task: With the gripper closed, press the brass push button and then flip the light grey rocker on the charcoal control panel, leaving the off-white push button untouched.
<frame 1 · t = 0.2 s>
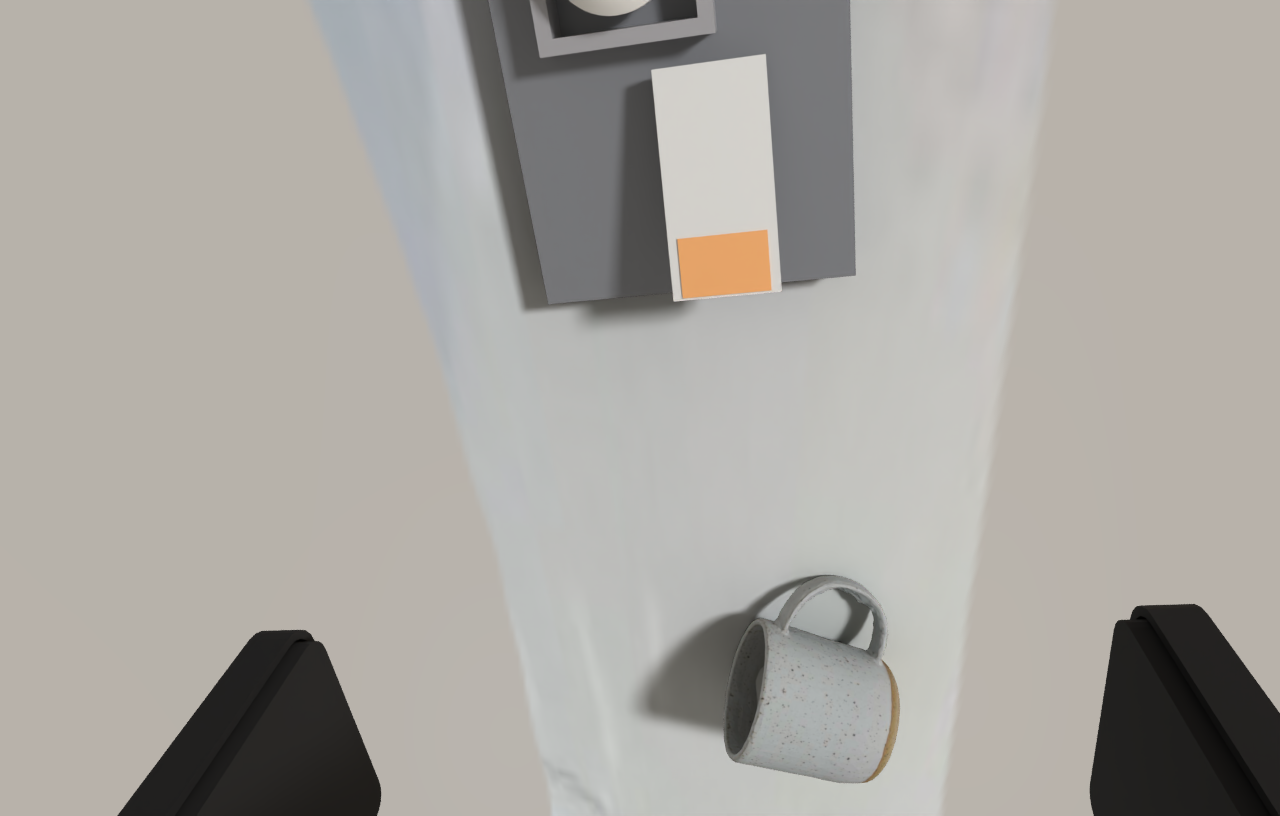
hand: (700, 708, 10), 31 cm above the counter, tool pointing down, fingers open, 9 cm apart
ceramic mug: (807, 635, 49), on the counter
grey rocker: (718, 183, 33), point 4 cm above the counter, hinge at -14.0°
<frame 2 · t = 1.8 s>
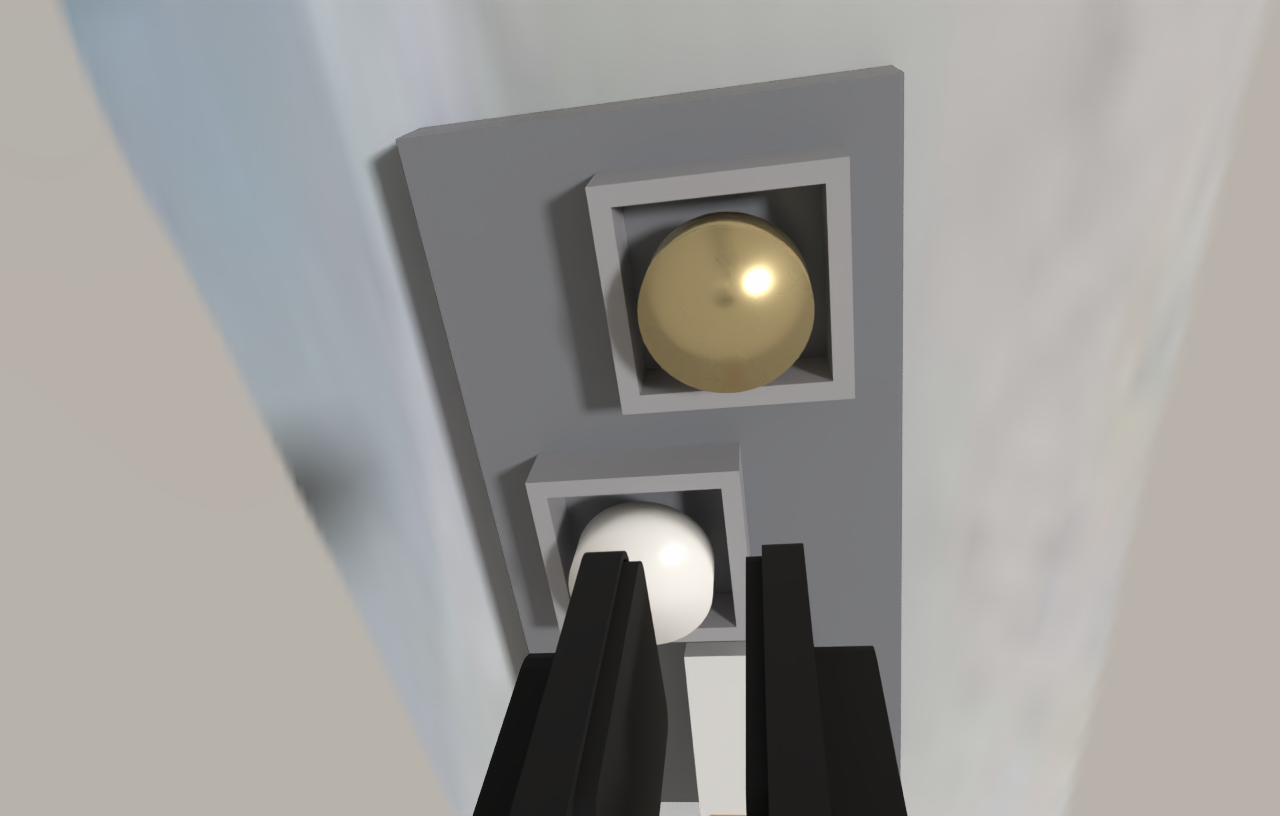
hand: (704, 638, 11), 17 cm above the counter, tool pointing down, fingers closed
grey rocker: (755, 759, 30), point 4 cm above the counter, hinge at -14.0°
control panel: (695, 498, 30), on the counter
white button: (642, 574, 27), point 4 cm above the counter, slide at 0.0 cm
brass button: (725, 303, 22), point 4 cm above the counter, slide at 0.0 cm
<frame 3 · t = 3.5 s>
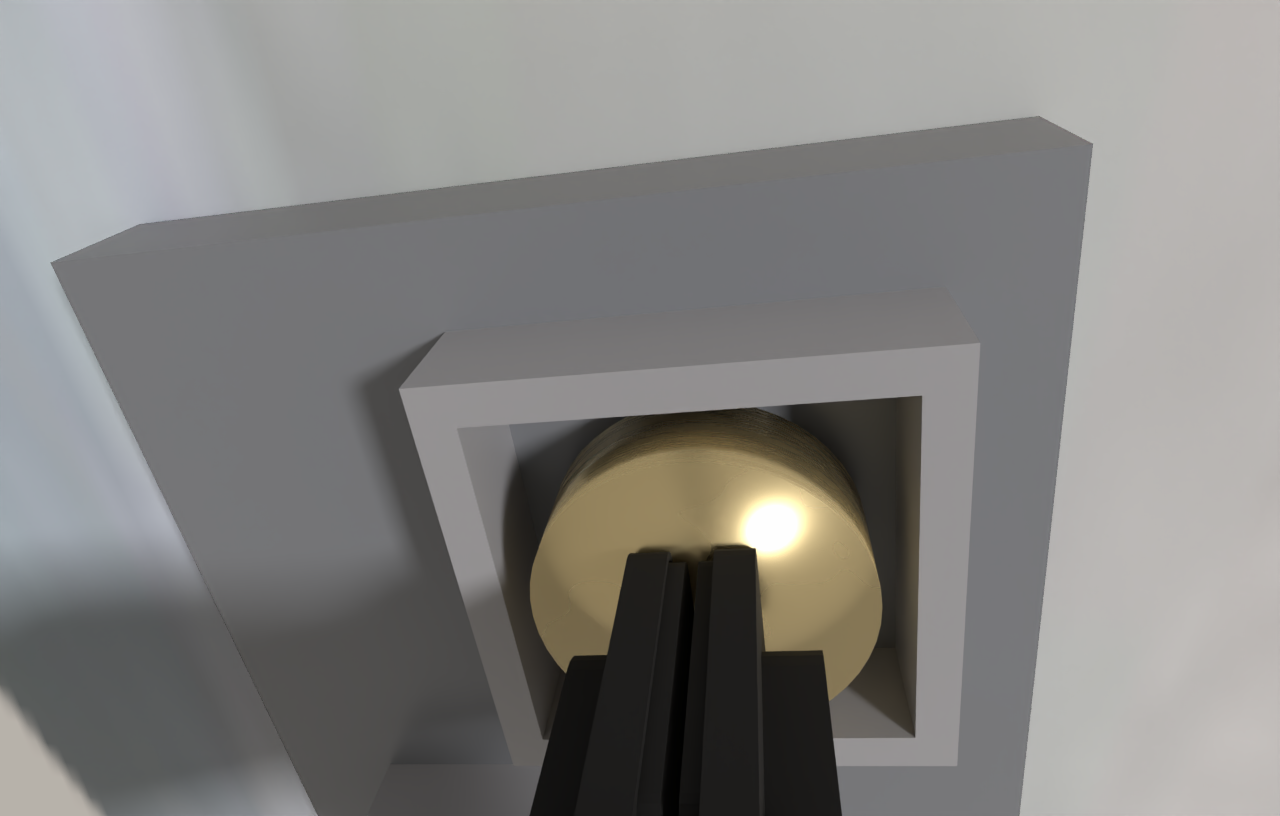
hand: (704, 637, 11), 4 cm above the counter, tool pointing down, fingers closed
control panel: (663, 791, 19), on the counter
brass button: (704, 572, 12), point 3 cm above the counter, slide at 1.0 cm, touching gripper
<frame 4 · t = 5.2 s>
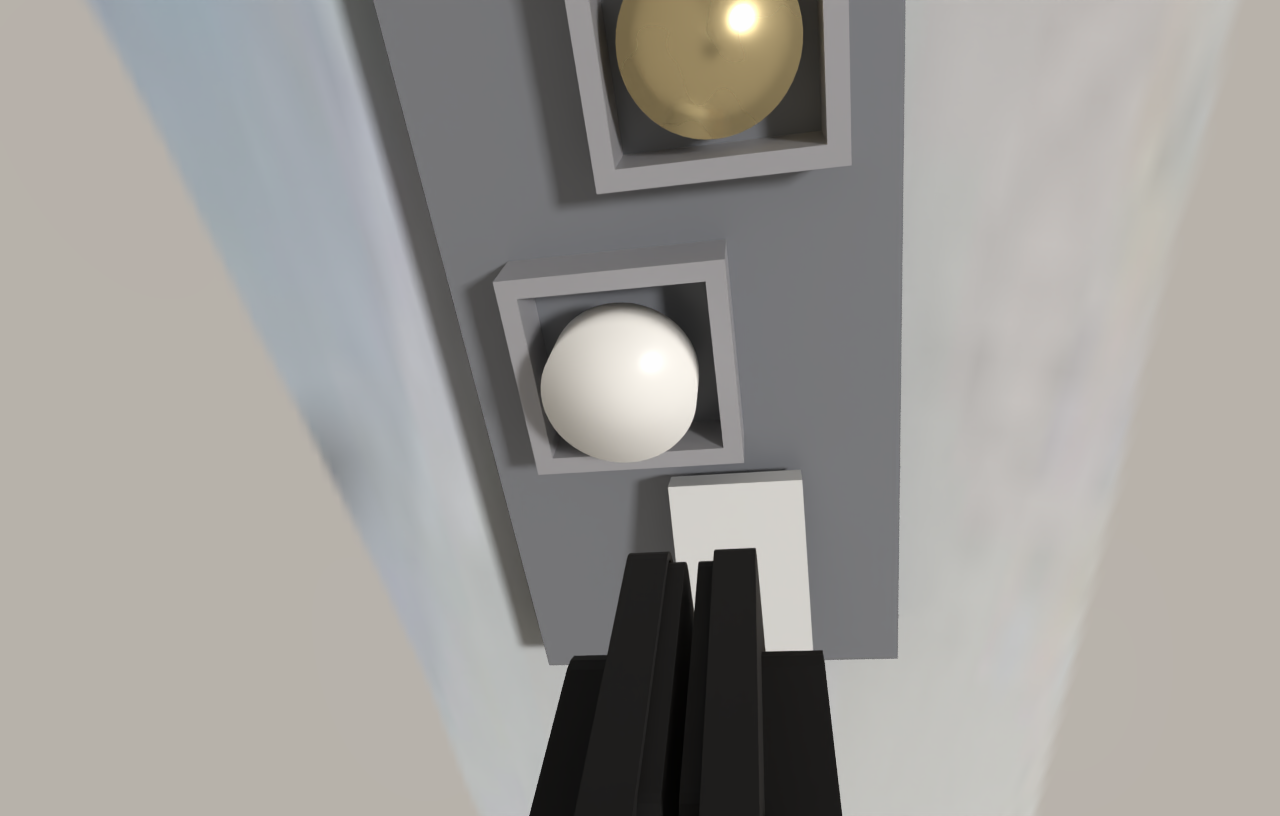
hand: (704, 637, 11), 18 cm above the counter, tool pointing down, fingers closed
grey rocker: (745, 600, 29), point 4 cm above the counter, hinge at -14.0°
control panel: (680, 322, 28), on the counter
white button: (621, 383, 25), point 4 cm above the counter, slide at 0.0 cm
brass button: (709, 39, 21), point 3 cm above the counter, slide at 1.2 cm
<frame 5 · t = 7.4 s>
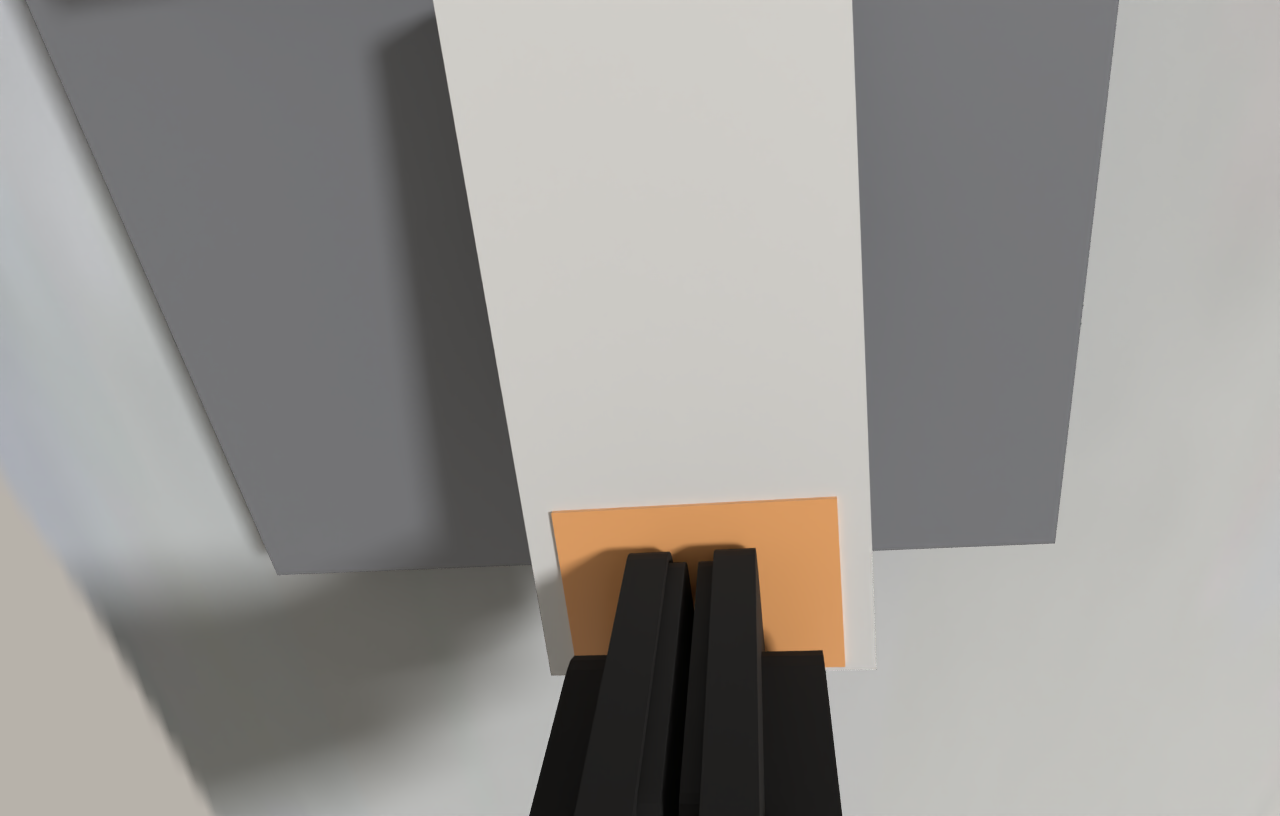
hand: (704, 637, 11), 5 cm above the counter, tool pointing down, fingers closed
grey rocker: (677, 340, 10), point 4 cm above the counter, hinge at -10.3°, touching gripper
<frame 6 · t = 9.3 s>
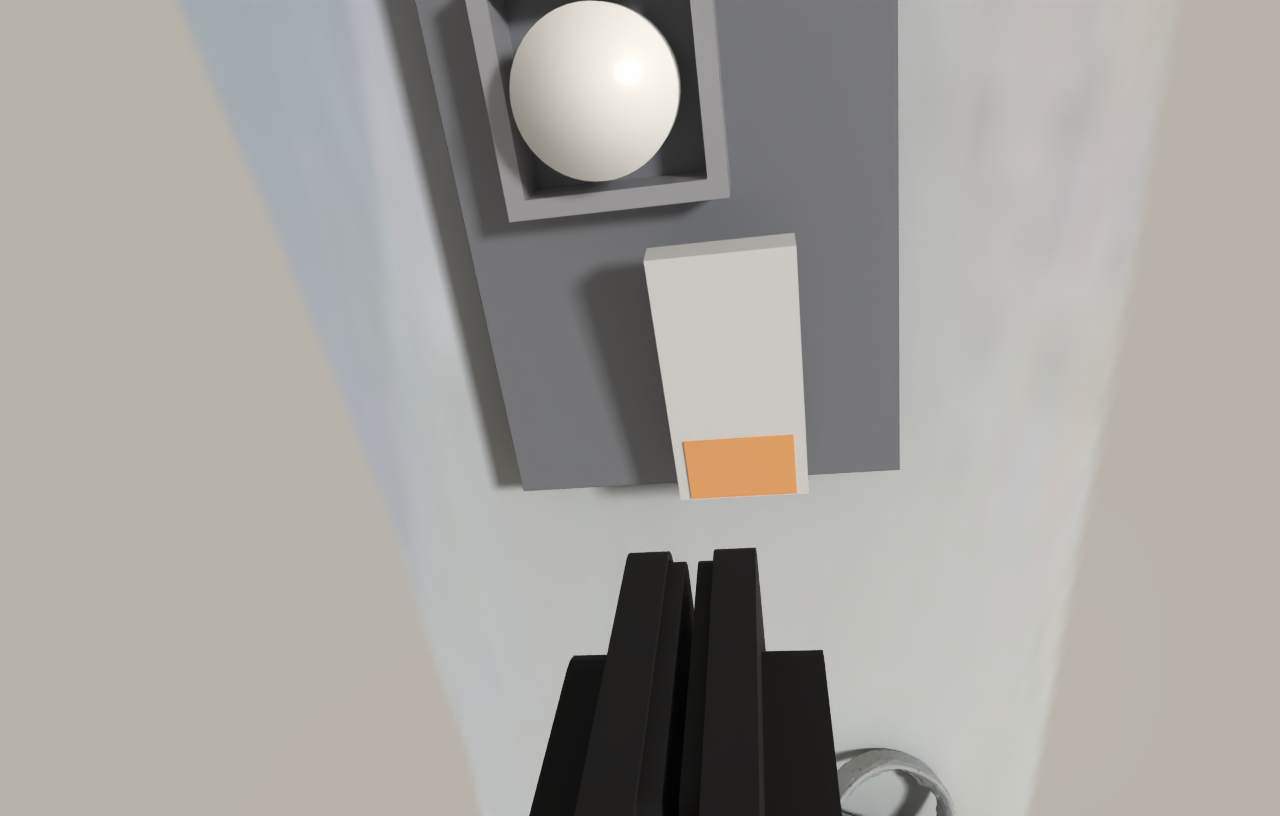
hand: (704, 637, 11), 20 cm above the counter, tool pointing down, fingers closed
ceramic mug: (853, 814, 40), on the counter
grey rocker: (732, 378, 26), point 4 cm above the counter, hinge at 7.8°
control panel: (664, 75, 27), on the counter
white button: (597, 92, 23), point 4 cm above the counter, slide at 0.0 cm
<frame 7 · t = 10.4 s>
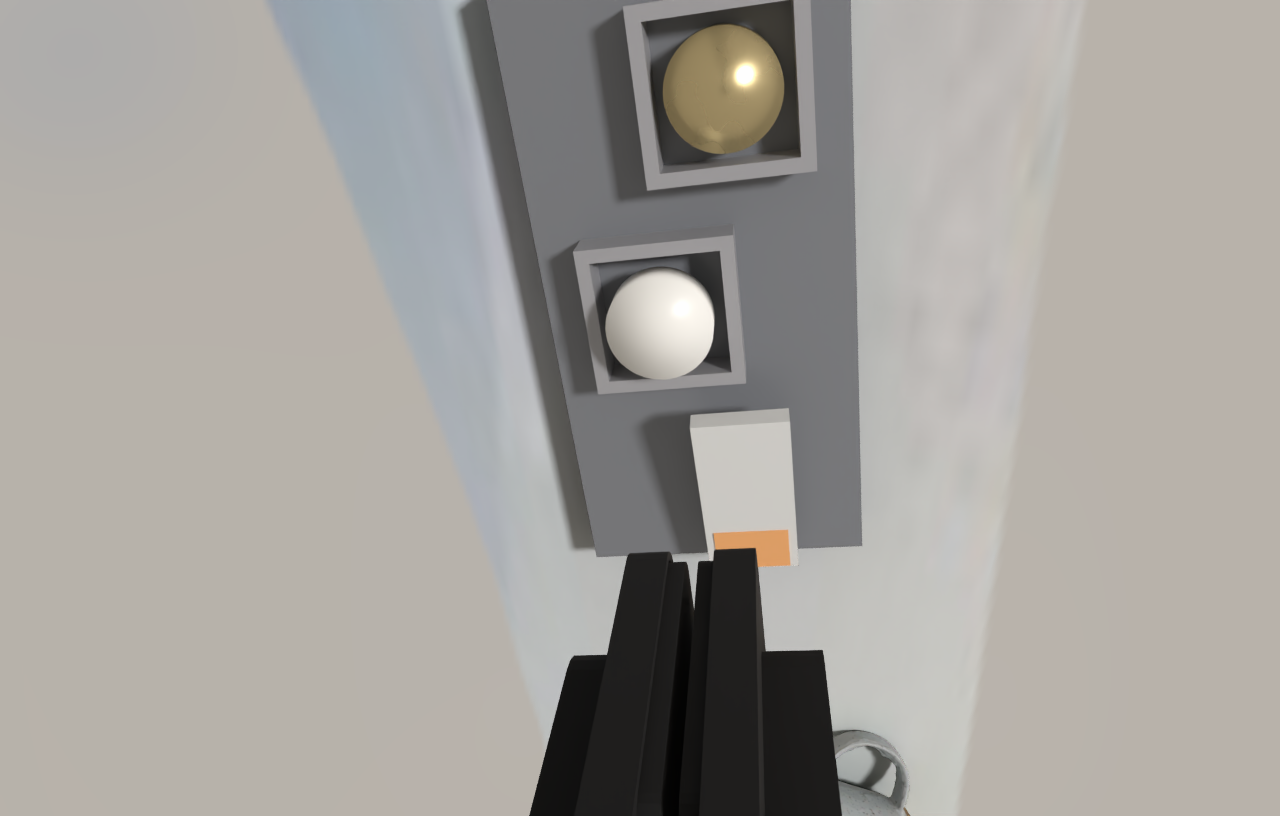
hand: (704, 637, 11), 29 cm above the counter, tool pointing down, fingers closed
ceramic mug: (835, 778, 54), on the counter
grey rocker: (747, 494, 39), point 4 cm above the counter, hinge at 8.6°
control panel: (700, 287, 39), on the counter
white button: (660, 323, 36), point 4 cm above the counter, slide at 0.0 cm
brass button: (723, 89, 32), point 3 cm above the counter, slide at 1.2 cm
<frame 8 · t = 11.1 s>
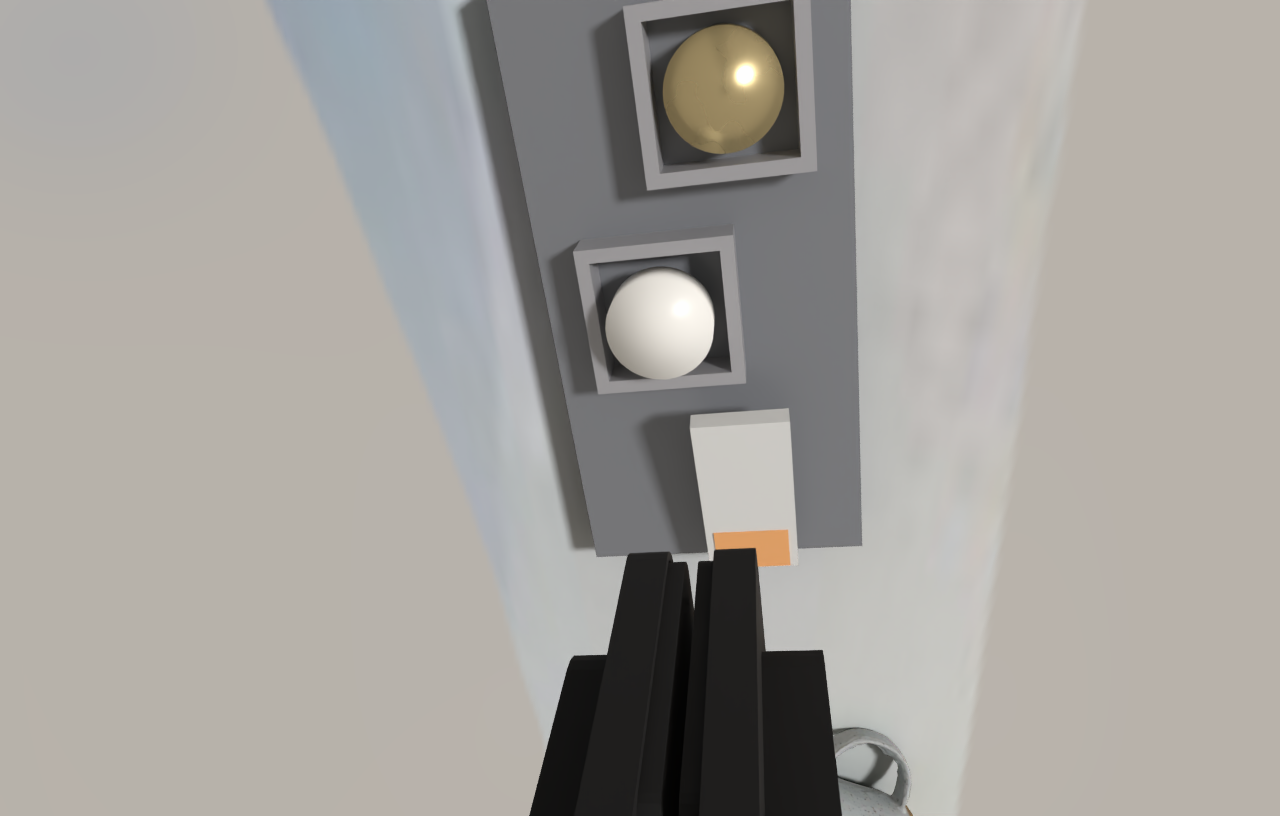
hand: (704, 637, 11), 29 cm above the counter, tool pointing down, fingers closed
ceramic mug: (836, 776, 54), on the counter
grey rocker: (747, 494, 39), point 4 cm above the counter, hinge at 8.7°
control panel: (700, 287, 39), on the counter
white button: (660, 323, 36), point 4 cm above the counter, slide at 0.0 cm
brass button: (723, 89, 32), point 3 cm above the counter, slide at 1.2 cm
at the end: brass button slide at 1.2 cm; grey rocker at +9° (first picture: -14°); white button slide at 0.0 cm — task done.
